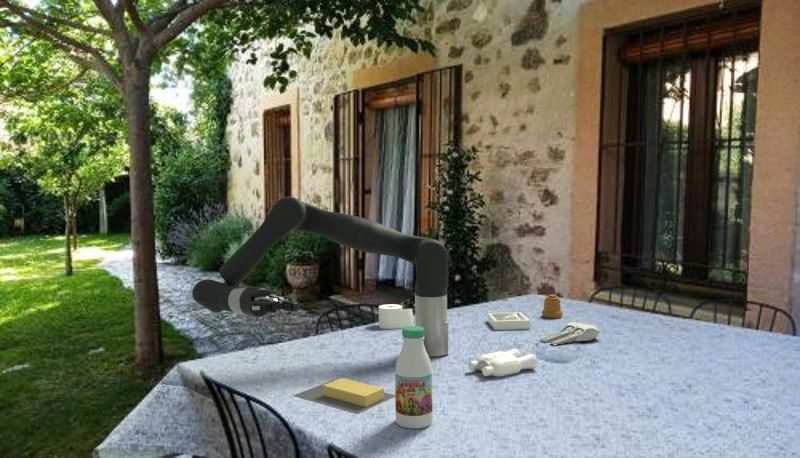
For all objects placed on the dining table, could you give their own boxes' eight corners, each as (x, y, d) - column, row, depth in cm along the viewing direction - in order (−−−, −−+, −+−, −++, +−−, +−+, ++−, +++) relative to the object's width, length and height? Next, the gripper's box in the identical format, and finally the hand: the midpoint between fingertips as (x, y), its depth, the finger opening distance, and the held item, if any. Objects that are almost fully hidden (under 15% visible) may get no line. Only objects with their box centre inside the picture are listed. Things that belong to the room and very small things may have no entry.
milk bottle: (394, 416, 133) (393, 324, 131) (430, 414, 133) (429, 323, 132) (397, 430, 125) (395, 333, 123) (435, 429, 126) (434, 331, 124)
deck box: (322, 385, 144) (365, 396, 137) (341, 378, 150) (383, 388, 142) (322, 396, 145) (365, 407, 137) (341, 388, 150) (384, 399, 142)
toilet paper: (413, 327, 213) (413, 307, 213) (381, 329, 211) (381, 309, 210) (408, 322, 221) (407, 303, 221) (376, 324, 219) (376, 304, 218)
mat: (292, 397, 145) (292, 395, 145) (333, 381, 156) (333, 379, 156) (357, 415, 133) (357, 413, 133) (397, 397, 144) (396, 395, 144)
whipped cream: (516, 332, 209) (517, 318, 208) (497, 328, 212) (498, 314, 211) (524, 325, 216) (525, 312, 215) (505, 322, 219) (506, 308, 218)
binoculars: (537, 371, 164) (538, 354, 163) (490, 382, 155) (490, 364, 155) (511, 361, 172) (511, 345, 172) (465, 371, 164) (465, 354, 164)
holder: (520, 320, 222) (520, 312, 221) (530, 329, 209) (530, 320, 208) (487, 321, 221) (487, 313, 221) (494, 330, 208) (494, 321, 208)
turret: (536, 347, 195) (535, 333, 194) (584, 330, 203) (583, 317, 202) (558, 355, 186) (556, 340, 185) (607, 337, 194) (605, 323, 193)
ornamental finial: (559, 314, 231) (564, 318, 224) (539, 314, 231) (544, 319, 224) (560, 293, 231) (565, 296, 223) (539, 293, 231) (544, 297, 223)
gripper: (270, 310, 168) (315, 316, 158) (230, 320, 158) (276, 327, 147) (268, 282, 168) (314, 287, 157) (228, 290, 157) (274, 296, 147)
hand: (295, 306), depth 152 cm, fingers closed
